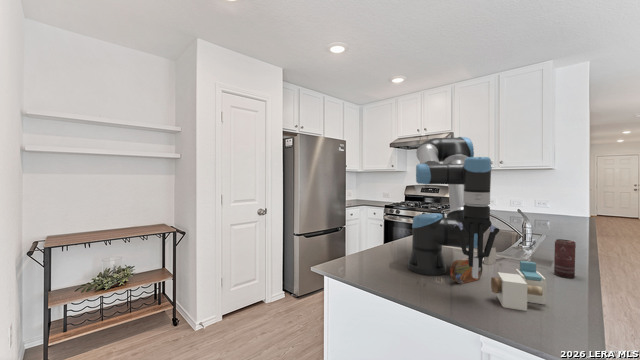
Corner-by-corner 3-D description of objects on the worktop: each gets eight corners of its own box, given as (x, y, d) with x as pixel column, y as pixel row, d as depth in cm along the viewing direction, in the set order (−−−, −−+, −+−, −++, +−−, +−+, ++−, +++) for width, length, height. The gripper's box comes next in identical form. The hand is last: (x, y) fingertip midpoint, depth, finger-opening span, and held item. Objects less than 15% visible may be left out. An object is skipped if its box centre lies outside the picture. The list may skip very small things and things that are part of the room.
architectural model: (480, 263, 125) (480, 247, 125) (489, 261, 129) (489, 245, 128) (488, 266, 122) (488, 249, 122) (497, 263, 125) (497, 247, 125)
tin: (455, 285, 99) (455, 262, 99) (448, 282, 102) (448, 260, 102) (483, 279, 106) (483, 257, 105) (475, 276, 108) (475, 255, 108)
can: (579, 279, 106) (580, 242, 106) (560, 277, 107) (561, 242, 107) (568, 273, 112) (569, 239, 112) (550, 272, 113) (551, 238, 113)
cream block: (502, 307, 83) (503, 281, 83) (497, 296, 91) (497, 272, 91) (526, 310, 81) (527, 284, 81) (518, 299, 89) (519, 274, 88)
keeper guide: (521, 301, 87) (521, 276, 87) (514, 292, 94) (515, 268, 94) (545, 304, 85) (546, 278, 85) (537, 295, 92) (538, 271, 91)
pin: (493, 294, 86) (494, 280, 86) (490, 289, 90) (491, 275, 90) (543, 302, 81) (544, 286, 81) (538, 295, 85) (538, 280, 85)
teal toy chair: (526, 279, 87) (526, 267, 87) (519, 271, 93) (519, 260, 93) (541, 280, 85) (541, 268, 85) (533, 273, 92) (534, 262, 92)
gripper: (455, 205, 88) (453, 278, 89) (503, 207, 83) (501, 284, 84) (453, 202, 95) (452, 270, 96) (497, 204, 90) (495, 275, 91)
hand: (474, 276), depth 90 cm, fingers closed
